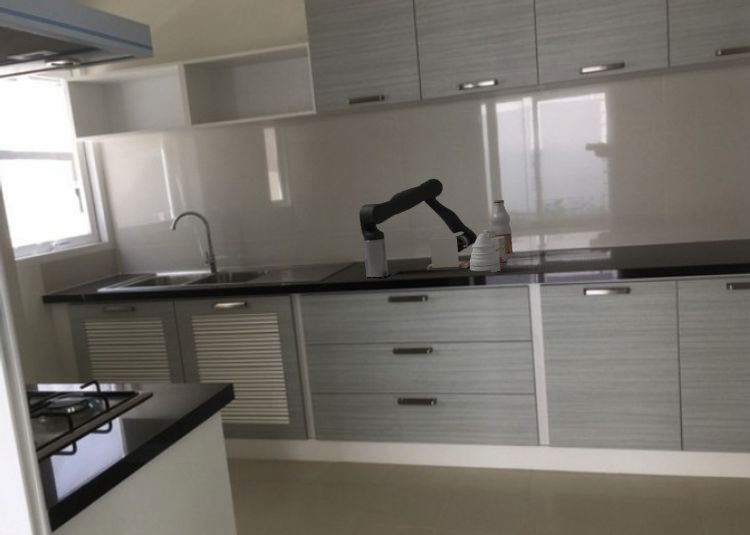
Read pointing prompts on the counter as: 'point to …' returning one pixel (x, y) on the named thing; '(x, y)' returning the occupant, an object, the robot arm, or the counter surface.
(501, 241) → the ink cartridge box
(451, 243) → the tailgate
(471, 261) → the honey pot
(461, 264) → the bed
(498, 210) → the fruit juice
